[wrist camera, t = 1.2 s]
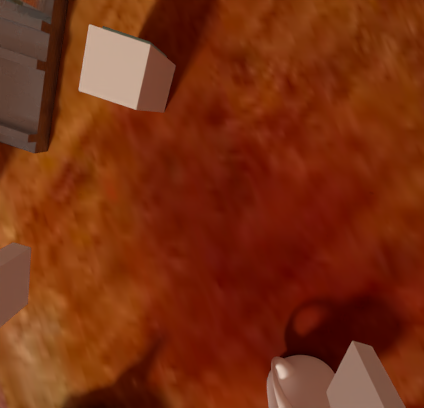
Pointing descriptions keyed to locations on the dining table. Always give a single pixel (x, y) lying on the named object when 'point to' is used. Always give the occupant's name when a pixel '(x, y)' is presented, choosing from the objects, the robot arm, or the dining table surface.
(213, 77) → the dining table surface
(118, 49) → the block
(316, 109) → the dining table surface
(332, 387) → the robot arm
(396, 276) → the dining table surface
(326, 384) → the mug
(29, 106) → the rail
